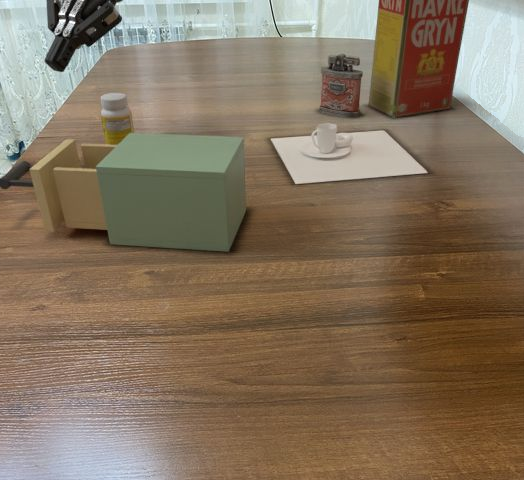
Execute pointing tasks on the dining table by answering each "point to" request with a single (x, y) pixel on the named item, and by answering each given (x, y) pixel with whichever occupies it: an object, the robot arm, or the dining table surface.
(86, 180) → the drawer
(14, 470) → the dining table surface
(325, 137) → the teacup and saucer
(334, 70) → the lighter
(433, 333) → the dining table surface
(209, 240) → the cabinet
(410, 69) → the food packaging
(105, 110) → the supplement bottle
